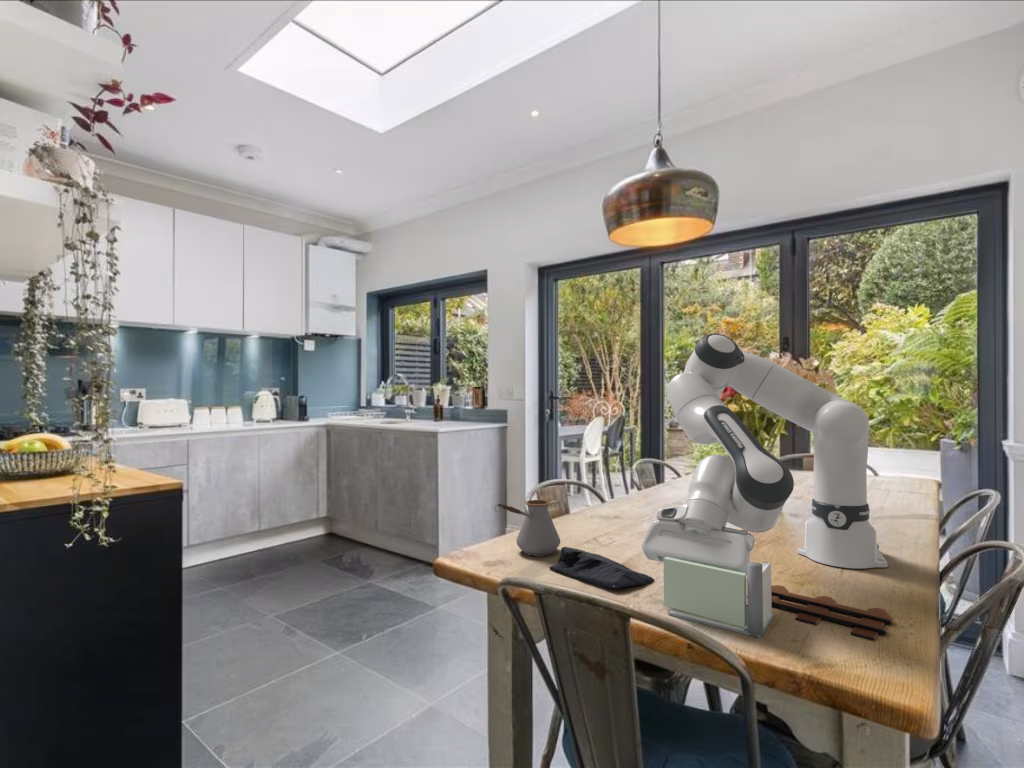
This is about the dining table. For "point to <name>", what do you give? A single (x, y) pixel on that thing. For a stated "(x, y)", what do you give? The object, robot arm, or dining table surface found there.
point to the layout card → (718, 623)
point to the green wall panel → (706, 591)
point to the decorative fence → (821, 606)
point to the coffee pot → (536, 529)
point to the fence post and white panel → (758, 596)
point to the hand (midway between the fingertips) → (685, 586)
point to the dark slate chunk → (598, 569)
